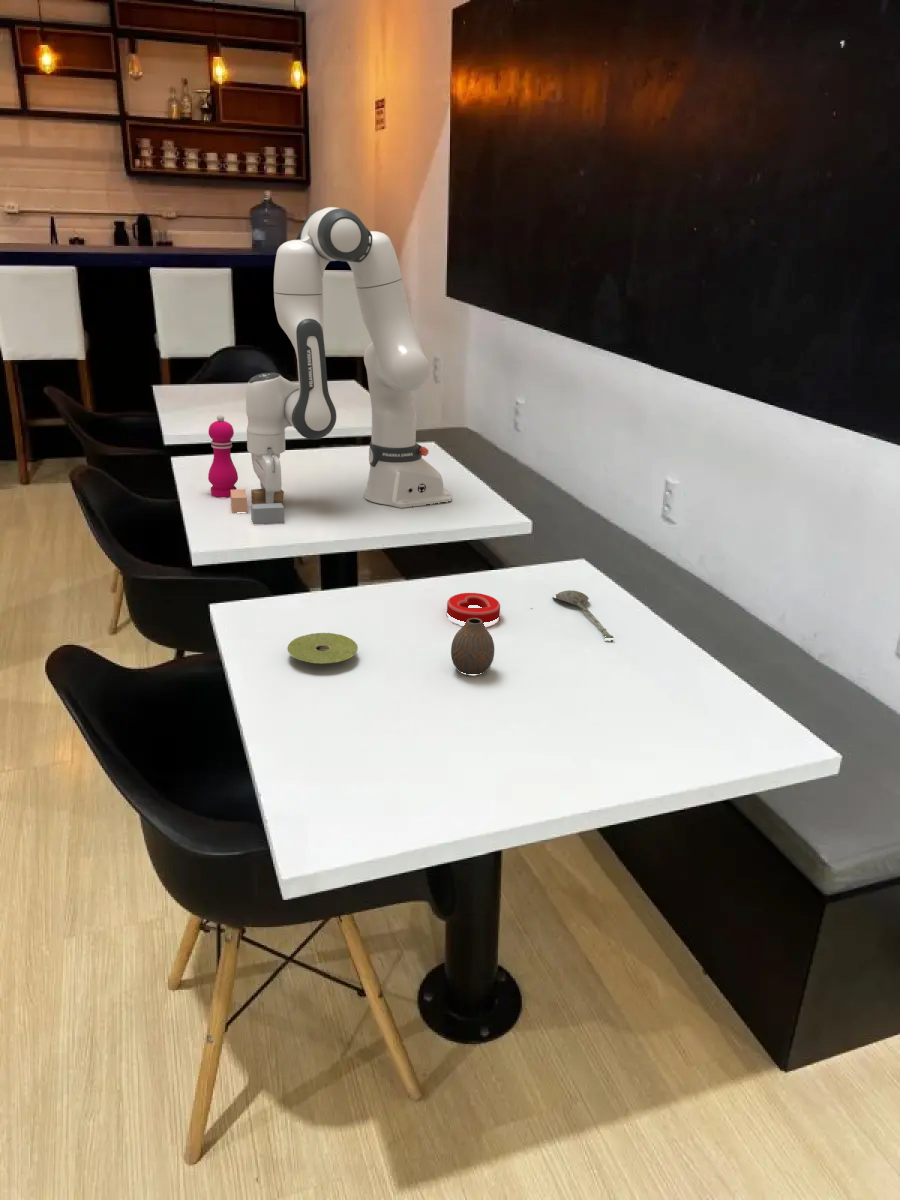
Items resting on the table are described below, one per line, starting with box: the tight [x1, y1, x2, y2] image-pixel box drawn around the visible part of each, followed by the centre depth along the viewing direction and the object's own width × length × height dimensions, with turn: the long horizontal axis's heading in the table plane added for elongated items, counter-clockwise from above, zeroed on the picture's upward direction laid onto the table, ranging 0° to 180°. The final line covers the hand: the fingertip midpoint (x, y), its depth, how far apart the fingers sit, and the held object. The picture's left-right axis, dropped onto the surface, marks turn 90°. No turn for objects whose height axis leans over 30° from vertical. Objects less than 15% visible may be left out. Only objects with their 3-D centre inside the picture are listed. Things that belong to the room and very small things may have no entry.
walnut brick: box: [250, 488, 285, 508], centre depth 222 cm, size 7×4×4 cm, turn 116°
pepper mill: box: [207, 414, 239, 498], centre depth 226 cm, size 7×7×20 cm
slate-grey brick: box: [250, 503, 285, 525], centre depth 211 cm, size 7×4×4 cm, turn 110°
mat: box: [286, 632, 359, 664], centre depth 148 cm, size 11×11×2 cm
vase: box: [450, 618, 495, 674], centre depth 145 cm, size 7×7×9 cm
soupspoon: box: [555, 590, 615, 639], centre depth 169 cm, size 22×3×7 cm
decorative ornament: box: [446, 592, 501, 623], centre depth 166 cm, size 10×10×3 cm
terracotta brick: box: [230, 488, 248, 513], centre depth 218 cm, size 7×4×4 cm, turn 15°
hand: (267, 499), depth 222 cm, fingers closed on walnut brick, 4 cm apart
